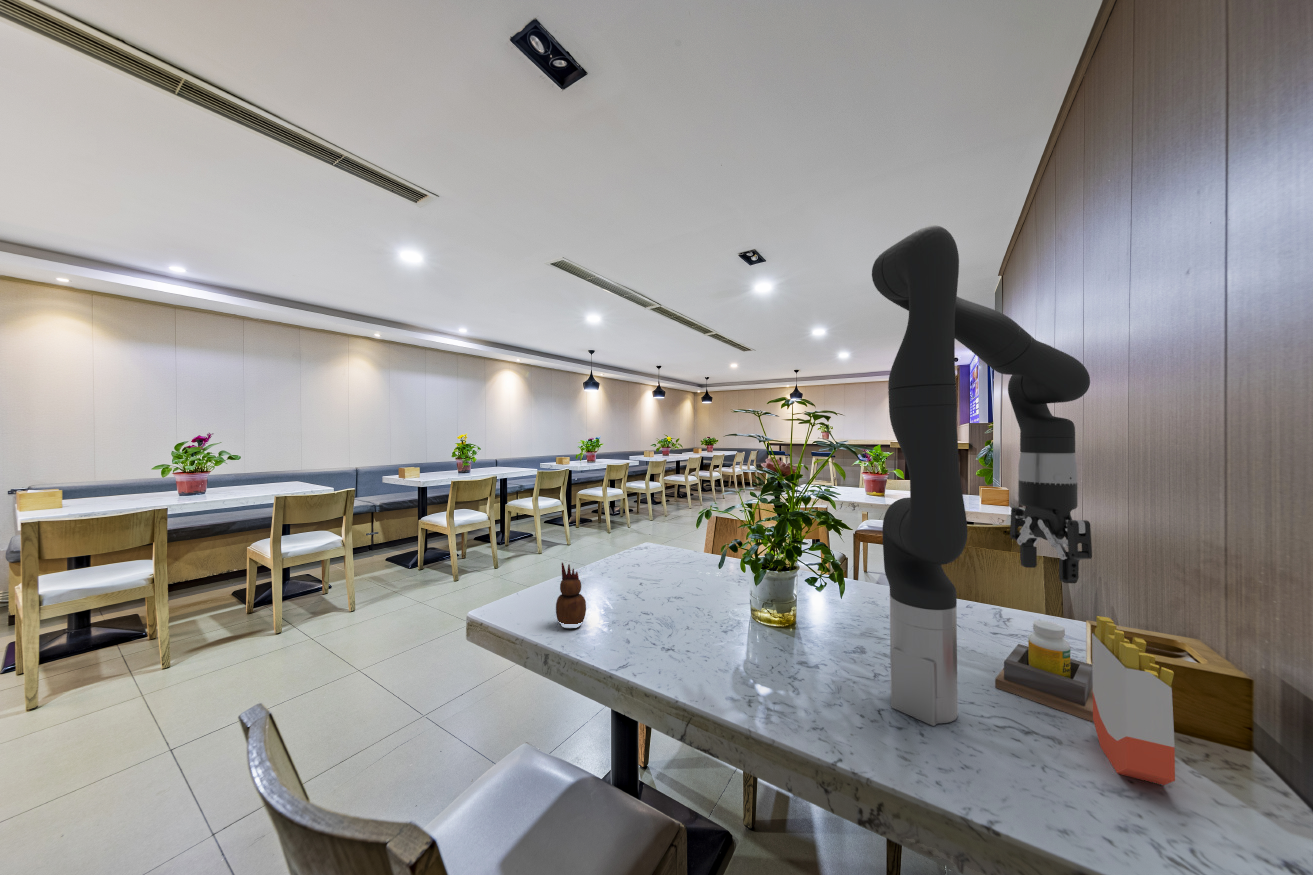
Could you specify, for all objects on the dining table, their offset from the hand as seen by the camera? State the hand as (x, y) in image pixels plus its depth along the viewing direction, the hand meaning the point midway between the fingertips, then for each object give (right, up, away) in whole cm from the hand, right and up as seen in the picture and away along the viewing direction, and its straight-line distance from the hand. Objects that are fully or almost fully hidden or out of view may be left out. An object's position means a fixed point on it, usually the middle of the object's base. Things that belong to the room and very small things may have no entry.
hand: (1047, 574), depth 75 cm
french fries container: (-4, -20, -17) cm, 27 cm away
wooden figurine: (-87, -21, +27) cm, 93 cm away
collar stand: (0, -20, 0) cm, 20 cm away
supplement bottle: (0, -18, 0) cm, 18 cm away
